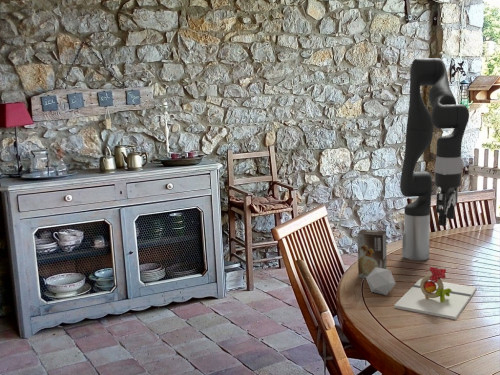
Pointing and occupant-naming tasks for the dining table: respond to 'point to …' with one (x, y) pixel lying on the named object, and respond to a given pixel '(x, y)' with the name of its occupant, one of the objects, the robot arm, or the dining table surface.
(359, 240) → the coffee box
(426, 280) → the bird rattle
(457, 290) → the mat
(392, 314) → the dining table surface
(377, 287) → the die
